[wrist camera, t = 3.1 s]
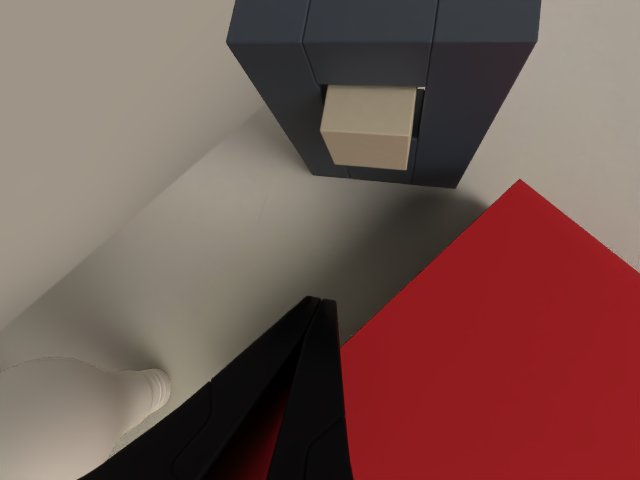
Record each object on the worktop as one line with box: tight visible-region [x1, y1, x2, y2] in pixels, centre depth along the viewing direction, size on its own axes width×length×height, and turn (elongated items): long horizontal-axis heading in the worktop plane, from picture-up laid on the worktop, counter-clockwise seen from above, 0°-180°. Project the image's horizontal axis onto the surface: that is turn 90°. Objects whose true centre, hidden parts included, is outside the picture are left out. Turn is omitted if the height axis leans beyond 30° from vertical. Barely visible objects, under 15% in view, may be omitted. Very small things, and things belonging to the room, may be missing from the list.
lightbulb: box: [0, 357, 171, 480], centre depth 17 cm, size 6×6×11 cm
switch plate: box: [226, 0, 541, 188], centre depth 16 cm, size 2×9×12 cm, turn 80°
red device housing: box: [340, 179, 640, 480], centre depth 16 cm, size 18×14×5 cm
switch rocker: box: [320, 84, 418, 170], centre depth 13 cm, size 3×3×3 cm
